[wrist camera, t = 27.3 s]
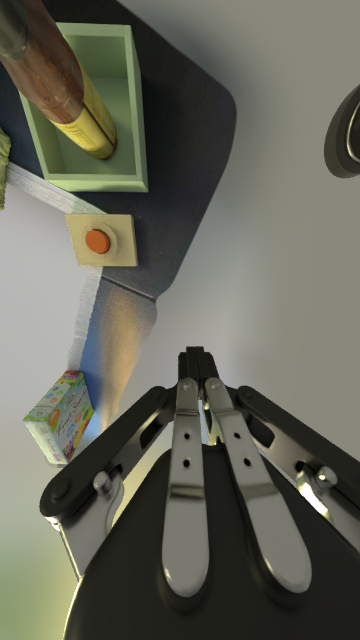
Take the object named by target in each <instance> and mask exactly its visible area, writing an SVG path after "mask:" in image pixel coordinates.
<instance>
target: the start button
mask: <svg viewBox="0 0 360 640" xmlns="http://www.w3.org/2000/svg"><path fill="white" fill-rule="evenodd" d="M85 241H86V244H87V246H88V247H89V249H90V250H92V251H93V252H96V253H101V252H106V251H107V250H108V249H109V246H110V242H109V239H108V237H107V235H106V234H105V233H103V232H101V231H96V230H91V231H89V232H88V233H87V234H86V237H85Z"/></svg>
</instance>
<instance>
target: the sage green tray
mask: <svg viewBox="0 0 360 640" xmlns="http://www.w3.org/2000/svg"><path fill="white" fill-rule="evenodd" d="M56 25H57V27H58V28H59V30H60V32H61V33H62V35H63V37H64V38H65V39H66V41H67V42H68V43H69V45H70V46H71V48H72V50H73V51H74V53H75V55H76V57H77V58H78V60H79V62H80V63H81V65H82V67H83V69H84V70H85V72H86V74H87V76H88V77H89V79H90V81H91V83H92V84H93V86H94V88H95V89H96V91H97V93H98V94H99V96H100V98H101V100H102V101H103V103H104V105H105V106H106V108H107V110H108V112H109V113H110V115H111V118H112V120H113V122H114V124H115V127H116V132H117V138H118V143H117V149H116V151H115V153H114V154H113V156H112V157H111V158H110V159H108V160H99V159H96V158H94V157H92V156H90V155H89V154H87V153H86V152H85V151H84V150H83V149H82V148H81V147H79V146H78V145H77V144H76V143H75V142H74V141H73V140H71V139H70V138H69V137H68V136H67V135H66V134H65V133H63V132H62V131H61V130H60V129H59V128H58V127H57V126H55V125H54V124H53V123H52V122H51V121H50V120H49V119H48V118H47V117H46V116H44V115H43V114H42V113H41V112H40V111H39V110H38V109H37V108H36V106H34V105H33V104H32V103H31V102H30V101H29V100H28V99H27V98H26V97H24V96H23V95H22V93H21V92H20V91H19V93H20V97H21V100H22V104H23V107H24V110H25V114H26V117H27V120H28V124H29V127H30V130H31V134H32V137H33V141H34V144H35V147H36V151H37V154H38V157H39V161H40V164H41V167H42V171H43V174H44V178H45V180H46V181H48V182H50V183H52V184H54V185H56V186H59V187H61V188H63V189H65V190H67V191H93V192H148V177H147V162H146V147H145V132H144V117H143V102H142V87H141V73H140V68H139V64H138V59H137V54H136V50H135V45H134V40H133V36H132V31H131V26H130V25H108V24H81V23H56Z"/></svg>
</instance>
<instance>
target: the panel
mask: <svg viewBox="0 0 360 640" xmlns="http://www.w3.org/2000/svg"><path fill="white" fill-rule="evenodd" d="M65 218H66V222H67V225H68V229H69V232H70V236H71V240H72V243H73V247H74V250H75V254H76V258H77V262H78V265H79V266H137V265H138V257H137V248H136V239H135V229H134V220H133V216H132V215H112V214H65ZM91 230H96V231H101V232H103V233H105V234H106V235H107V237H108V239H109V242H110V246H109V249H108V250H107V251H106V252H101V253H96V252H93V251H92V250H90V249H89V247H88V246H87V244H86V241H85V237H86V234H87V233H88V232H89V231H91Z"/></svg>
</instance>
